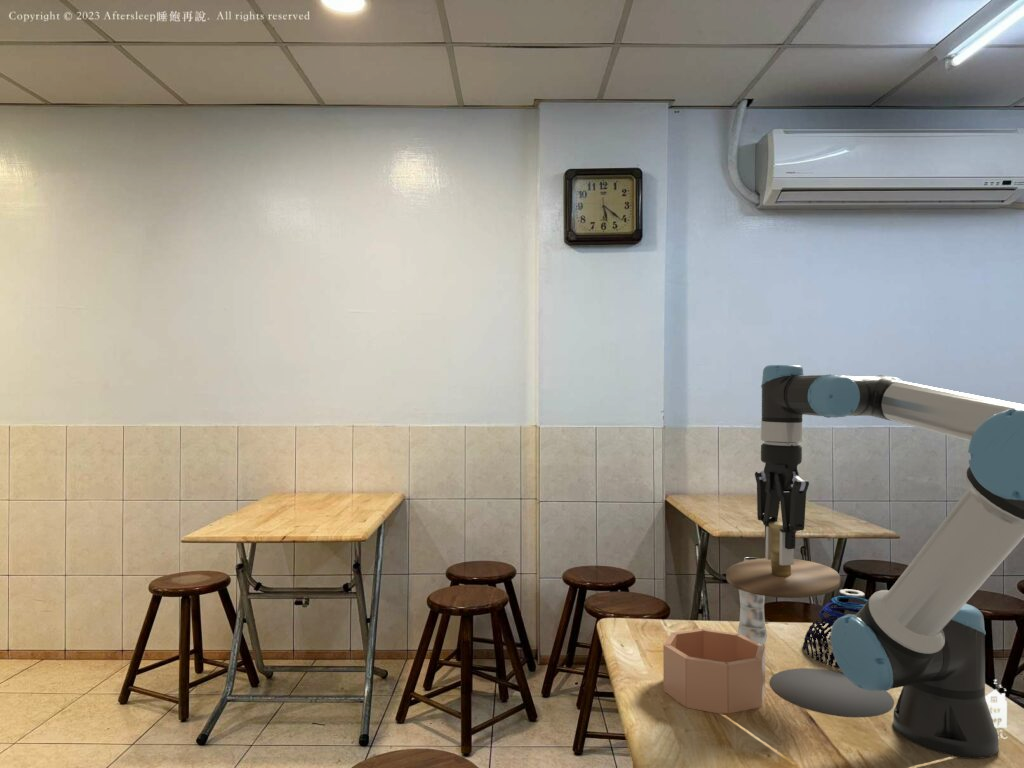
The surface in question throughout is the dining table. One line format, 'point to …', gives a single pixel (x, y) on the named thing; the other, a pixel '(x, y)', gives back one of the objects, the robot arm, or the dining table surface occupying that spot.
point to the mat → (829, 693)
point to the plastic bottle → (752, 615)
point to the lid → (782, 574)
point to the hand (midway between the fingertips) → (779, 561)
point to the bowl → (714, 670)
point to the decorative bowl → (830, 624)
